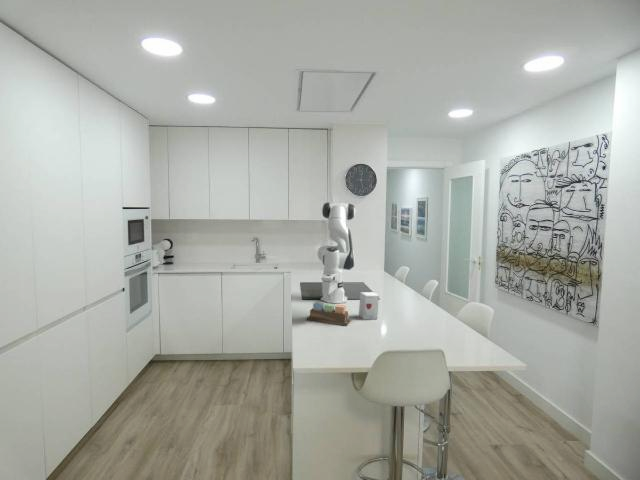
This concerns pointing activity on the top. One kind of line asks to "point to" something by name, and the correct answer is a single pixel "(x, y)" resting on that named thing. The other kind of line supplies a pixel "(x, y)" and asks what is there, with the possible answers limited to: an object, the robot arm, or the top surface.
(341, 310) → the terracotta block
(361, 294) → the supplement box
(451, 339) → the top surface
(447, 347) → the top surface
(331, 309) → the sage block
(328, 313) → the divided box
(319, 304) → the blue block
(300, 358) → the top surface
